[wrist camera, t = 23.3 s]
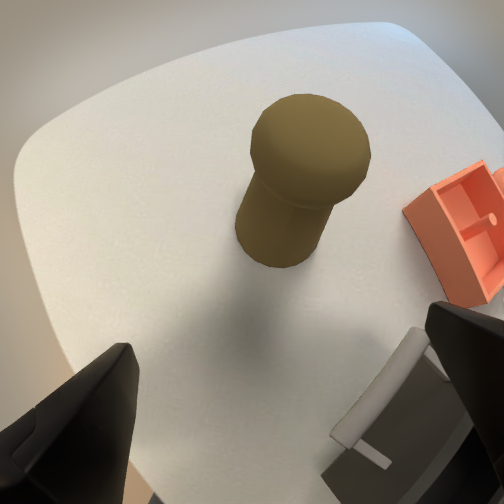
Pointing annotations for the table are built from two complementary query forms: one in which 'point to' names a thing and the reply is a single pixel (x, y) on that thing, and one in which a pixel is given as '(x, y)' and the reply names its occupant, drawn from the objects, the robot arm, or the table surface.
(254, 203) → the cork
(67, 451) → the robot arm
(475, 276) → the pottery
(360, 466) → the dark grey drawer
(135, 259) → the table surface
